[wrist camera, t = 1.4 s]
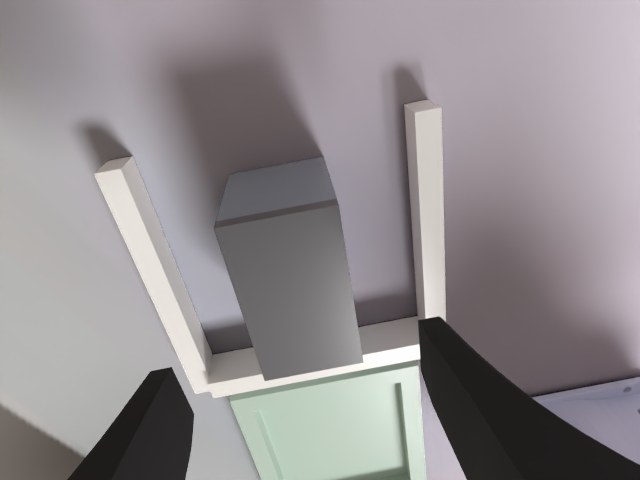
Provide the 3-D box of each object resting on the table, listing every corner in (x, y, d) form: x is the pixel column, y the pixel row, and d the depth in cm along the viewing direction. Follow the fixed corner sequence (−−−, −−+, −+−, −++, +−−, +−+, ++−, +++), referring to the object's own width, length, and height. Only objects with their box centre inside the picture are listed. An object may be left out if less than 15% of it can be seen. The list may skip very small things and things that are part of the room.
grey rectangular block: (323, 155, 18) (338, 204, 13) (345, 288, 21) (363, 362, 17) (229, 173, 18) (214, 228, 13) (267, 303, 21) (264, 381, 17)
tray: (410, 345, 23) (418, 365, 22) (420, 472, 29) (427, 493, 28) (232, 379, 23) (229, 401, 22) (278, 498, 29) (278, 522, 28)
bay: (428, 99, 17) (446, 110, 15) (436, 326, 23) (450, 353, 21) (107, 160, 17) (88, 178, 15) (200, 371, 23) (193, 402, 21)
